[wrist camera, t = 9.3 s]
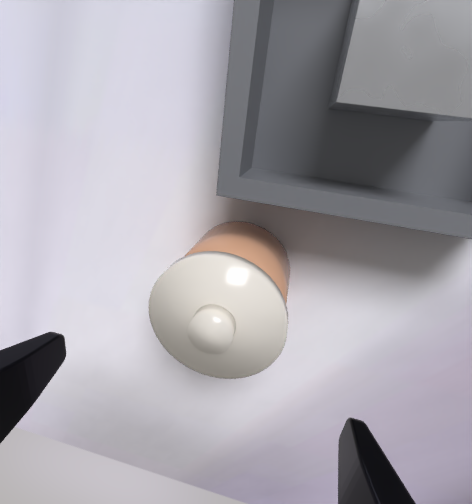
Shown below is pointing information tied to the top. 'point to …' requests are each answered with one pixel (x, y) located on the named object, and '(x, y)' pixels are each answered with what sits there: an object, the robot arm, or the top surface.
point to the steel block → (407, 60)
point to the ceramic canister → (225, 302)
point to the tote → (330, 130)
